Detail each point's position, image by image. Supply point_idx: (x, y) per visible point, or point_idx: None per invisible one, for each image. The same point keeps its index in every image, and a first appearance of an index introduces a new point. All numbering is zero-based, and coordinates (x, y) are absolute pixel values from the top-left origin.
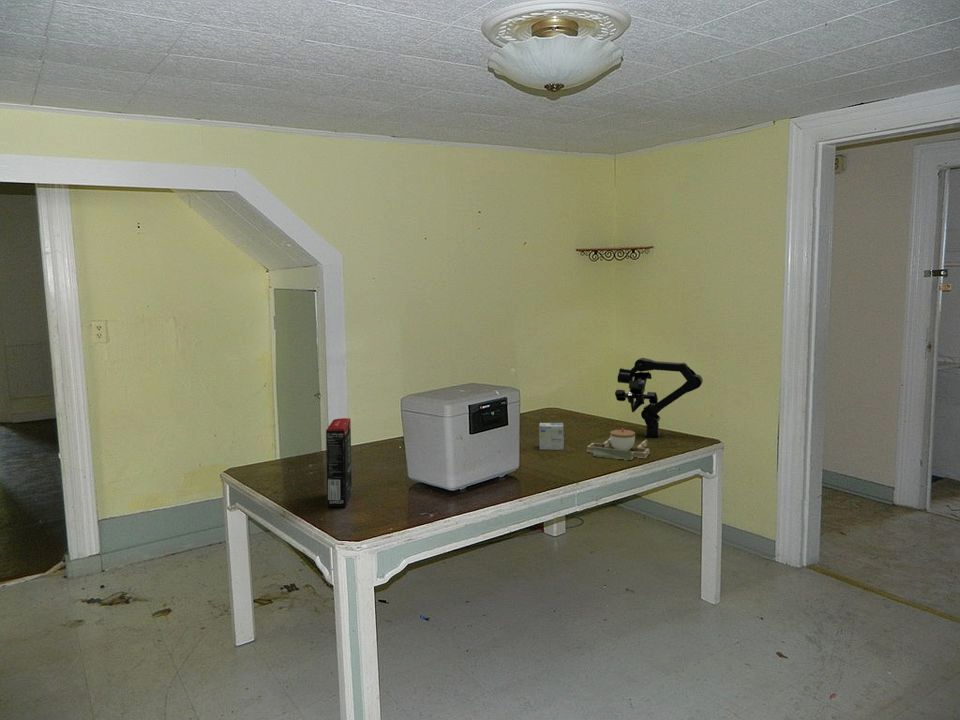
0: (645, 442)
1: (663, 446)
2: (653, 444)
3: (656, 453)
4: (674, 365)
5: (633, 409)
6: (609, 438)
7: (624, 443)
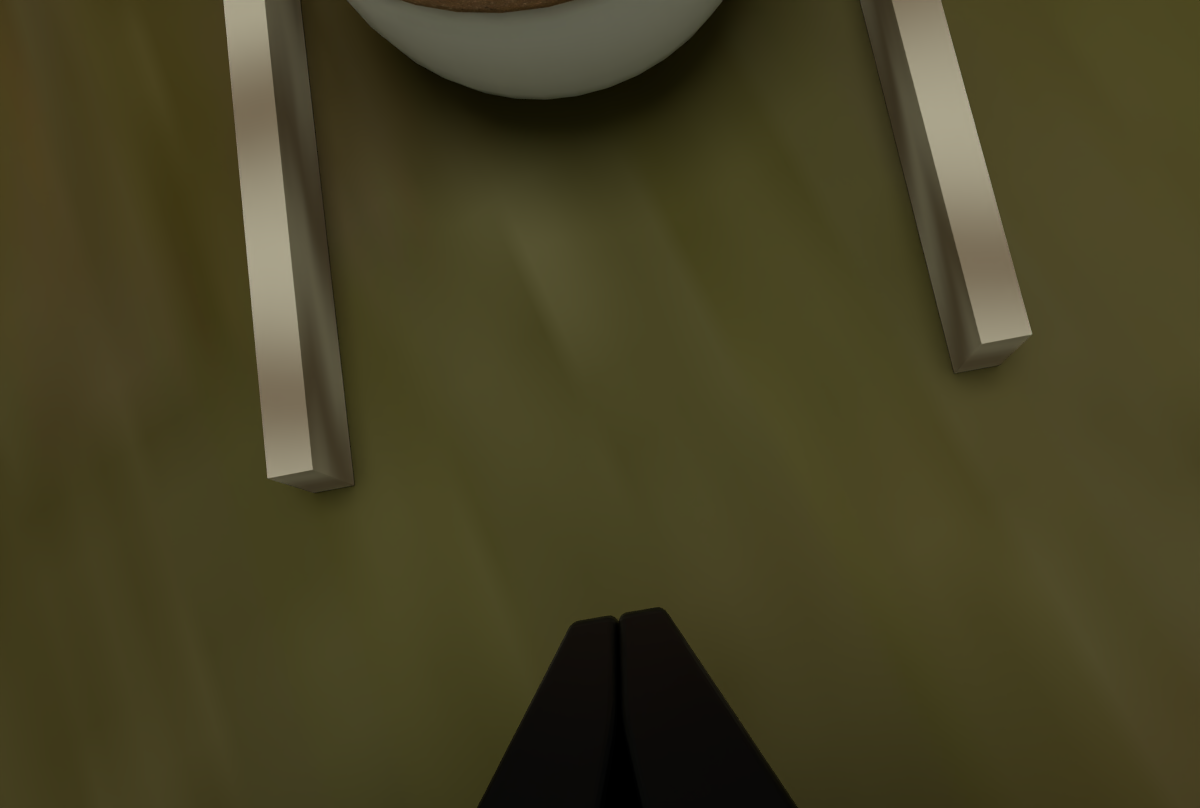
0: (262, 326)
1: (41, 581)
2: (236, 617)
3: (27, 99)
4: None
5: (579, 667)
6: (967, 120)
7: None
